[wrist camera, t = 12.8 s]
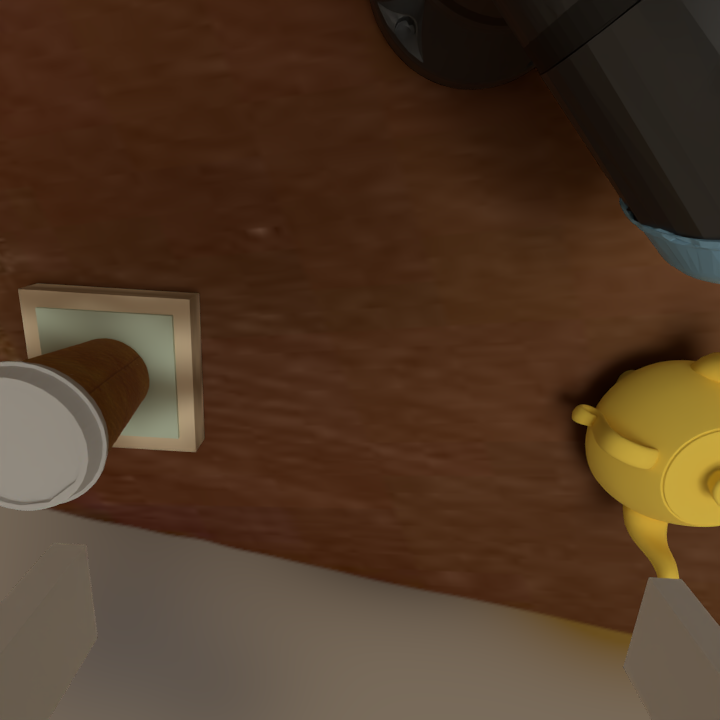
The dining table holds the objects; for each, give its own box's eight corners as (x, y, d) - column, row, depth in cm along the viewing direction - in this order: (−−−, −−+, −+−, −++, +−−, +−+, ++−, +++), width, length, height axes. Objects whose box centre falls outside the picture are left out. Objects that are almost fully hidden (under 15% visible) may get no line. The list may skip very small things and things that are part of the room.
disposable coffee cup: (70, 436, 43) (-36, 525, 32) (33, 325, 40) (-98, 379, 29) (182, 423, 43) (116, 509, 31) (153, 310, 40) (68, 359, 28)
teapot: (602, 284, 42) (686, 318, 31) (772, 330, 43) (911, 379, 32) (515, 494, 48) (559, 585, 37) (666, 530, 49) (752, 629, 38)
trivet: (37, 283, 42) (15, 289, 39) (199, 293, 42) (188, 300, 40) (57, 429, 46) (38, 444, 44) (204, 438, 46) (194, 453, 44)
